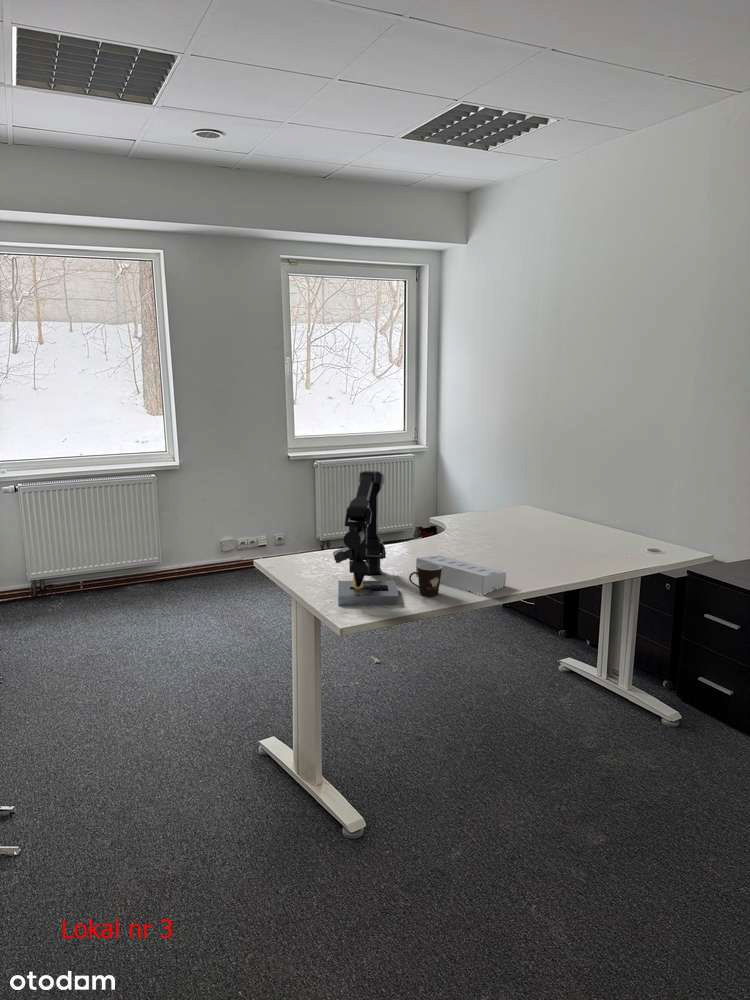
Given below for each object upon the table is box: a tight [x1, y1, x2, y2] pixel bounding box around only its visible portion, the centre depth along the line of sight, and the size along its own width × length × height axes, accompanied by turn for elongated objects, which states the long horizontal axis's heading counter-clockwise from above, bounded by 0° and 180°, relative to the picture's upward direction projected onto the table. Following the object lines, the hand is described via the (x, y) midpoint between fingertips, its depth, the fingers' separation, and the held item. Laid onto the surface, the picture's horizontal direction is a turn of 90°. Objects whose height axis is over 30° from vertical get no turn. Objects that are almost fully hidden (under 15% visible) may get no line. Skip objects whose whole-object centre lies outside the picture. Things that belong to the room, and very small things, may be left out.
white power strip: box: [415, 554, 507, 596], centre depth 256 cm, size 30×14×8 cm, turn 47°
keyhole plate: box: [337, 580, 400, 606], centre depth 238 cm, size 16×20×3 cm
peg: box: [352, 573, 364, 590], centre depth 238 cm, size 4×4×10 cm
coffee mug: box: [408, 563, 442, 598], centre depth 242 cm, size 12×9×10 cm
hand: (358, 584), depth 238 cm, fingers closed on peg, 3 cm apart
